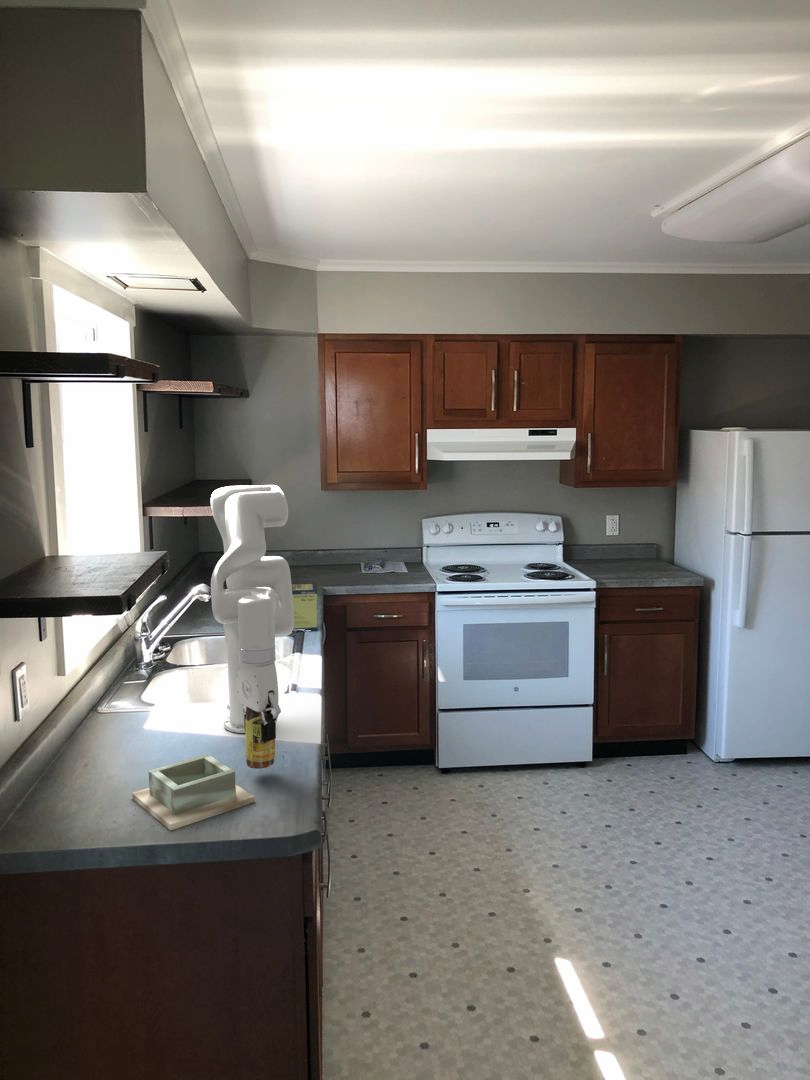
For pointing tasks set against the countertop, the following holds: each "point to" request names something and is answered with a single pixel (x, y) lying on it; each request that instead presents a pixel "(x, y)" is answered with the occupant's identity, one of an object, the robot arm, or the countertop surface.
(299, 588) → the protein box
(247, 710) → the sauce bottle
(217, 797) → the tray
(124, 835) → the countertop surface
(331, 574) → the countertop surface
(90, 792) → the countertop surface
